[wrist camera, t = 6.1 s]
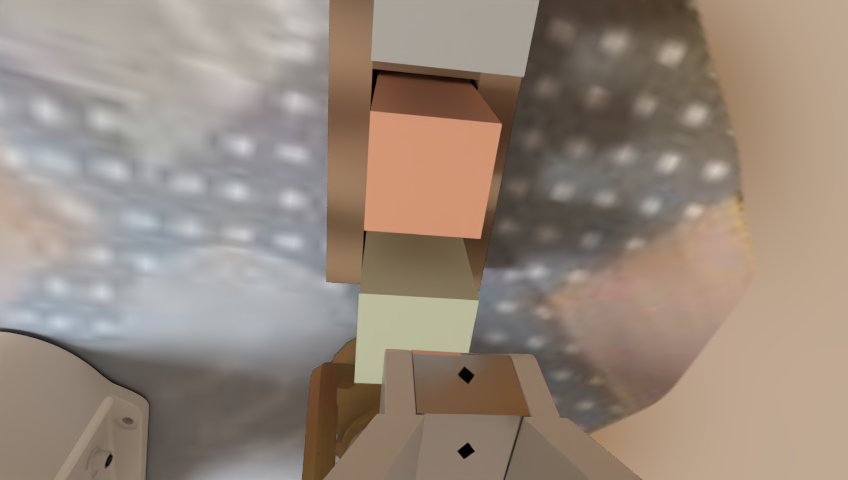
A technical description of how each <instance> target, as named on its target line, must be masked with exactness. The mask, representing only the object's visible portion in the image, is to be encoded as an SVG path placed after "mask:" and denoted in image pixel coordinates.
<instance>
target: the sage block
mask: <svg viewBox="0 0 848 480" xmlns="http://www.w3.org/2000/svg"><path fill="white" fill-rule="evenodd" d="M478 303H479V298H478V295H477V291H476V287H475V283H474V279H473V275H472V271H471V268H470V264H469V260H468V256H467V252H466V248H465V245H464V241H463V238H461V237H448V236H434V235H420V234H406V233H392V232H379V231H367V232H366V240H365V248H364V256H363V264H362V272H361V280H360V289H359V301H358V321H357V340H356V359H355V379H354V383H371V384H382V375H383V364H384V353H385V350H386V349H400V350H410V351H411V350H425V351H441V352H458V353H469V348H470V343H471V338H472V333H473V328H474V323H475V318H476V313H477V308H478Z"/></svg>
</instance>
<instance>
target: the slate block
mask: <svg viewBox="0 0 848 480" xmlns="http://www.w3.org/2000/svg"><path fill="white" fill-rule="evenodd" d="M538 5H539V0H374V11H373V30H372V50H371V61H380V62H389V63H398V64H408V65H417V66H426V67H435V68H445V69H454V70H463V71H473V72H482V73H491V74H501V75H510V76H519V77H524V75H525V70H526V65H527V60H528V55H529V50H530V45H531V40H532V35H533V30H534V25H535V20H536V15H537V10H538Z"/></svg>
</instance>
